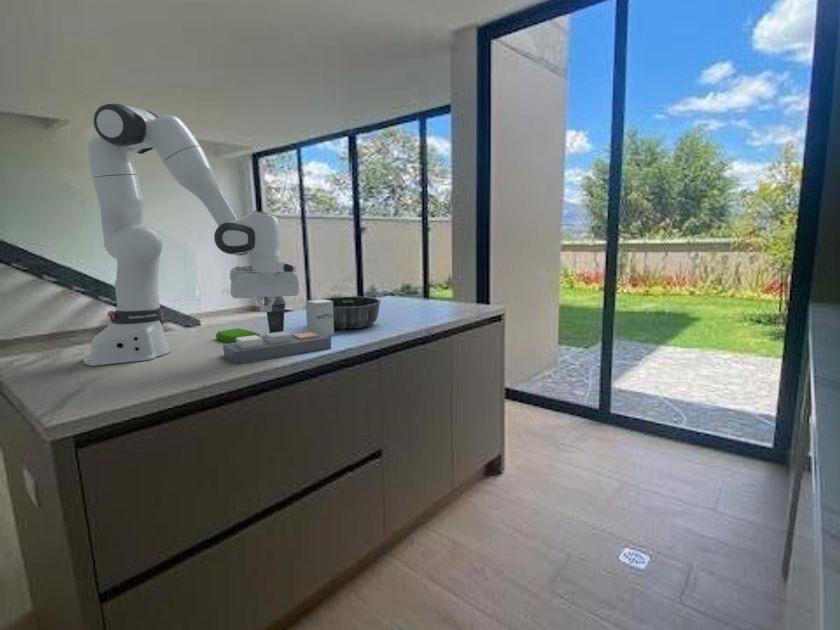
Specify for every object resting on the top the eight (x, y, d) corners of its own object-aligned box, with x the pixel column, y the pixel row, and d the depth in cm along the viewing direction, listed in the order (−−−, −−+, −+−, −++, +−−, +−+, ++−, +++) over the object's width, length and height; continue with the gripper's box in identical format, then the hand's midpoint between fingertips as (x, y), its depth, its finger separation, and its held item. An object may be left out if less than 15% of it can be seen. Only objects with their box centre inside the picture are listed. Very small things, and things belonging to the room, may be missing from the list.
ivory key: (242, 351, 138) (242, 341, 138) (236, 347, 143) (235, 337, 142) (263, 348, 142) (262, 338, 141) (256, 344, 147) (255, 335, 146)
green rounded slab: (241, 335, 174) (281, 346, 159) (213, 340, 166) (251, 352, 150) (241, 327, 173) (280, 337, 158) (212, 332, 165) (251, 343, 150)
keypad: (236, 363, 135) (235, 352, 134) (223, 355, 144) (223, 344, 143) (331, 348, 153) (330, 337, 152) (315, 341, 162) (314, 331, 161)
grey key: (272, 346, 144) (272, 337, 143) (265, 343, 148) (265, 333, 148) (291, 343, 147) (291, 334, 147) (284, 340, 152) (283, 331, 151)
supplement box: (316, 338, 167) (314, 303, 164) (306, 334, 172) (305, 300, 170) (334, 335, 171) (333, 301, 169) (324, 332, 177) (323, 298, 175)
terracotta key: (301, 347, 149) (300, 337, 149) (293, 343, 154) (292, 334, 153) (318, 344, 153) (318, 335, 152) (310, 340, 158) (310, 332, 157)
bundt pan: (371, 333, 175) (371, 306, 173) (304, 331, 179) (303, 305, 177) (387, 320, 201) (387, 297, 199) (328, 318, 205) (327, 295, 203)
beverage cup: (274, 338, 166) (271, 282, 163) (262, 336, 170) (258, 280, 167) (291, 335, 172) (288, 280, 168) (279, 332, 176) (276, 279, 173)
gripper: (233, 267, 134) (234, 315, 136) (301, 266, 146) (301, 310, 148) (226, 265, 139) (227, 312, 141) (292, 265, 151) (293, 308, 153)
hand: (266, 311), depth 145 cm, fingers closed
